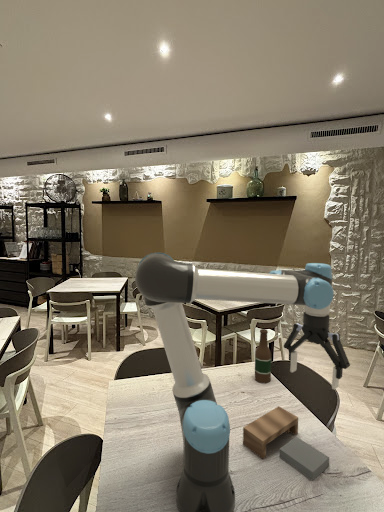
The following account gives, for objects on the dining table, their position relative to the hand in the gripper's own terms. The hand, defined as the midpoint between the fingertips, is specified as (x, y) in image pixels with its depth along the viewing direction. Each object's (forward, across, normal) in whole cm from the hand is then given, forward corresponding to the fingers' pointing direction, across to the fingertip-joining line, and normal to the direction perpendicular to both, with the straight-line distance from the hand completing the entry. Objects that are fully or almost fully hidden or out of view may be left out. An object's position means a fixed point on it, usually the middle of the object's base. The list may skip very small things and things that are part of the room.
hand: (313, 379), depth 92 cm
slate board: (+24, -2, +7) cm, 25 cm away
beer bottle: (+23, +36, -25) cm, 50 cm away
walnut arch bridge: (+23, +10, +6) cm, 26 cm away
